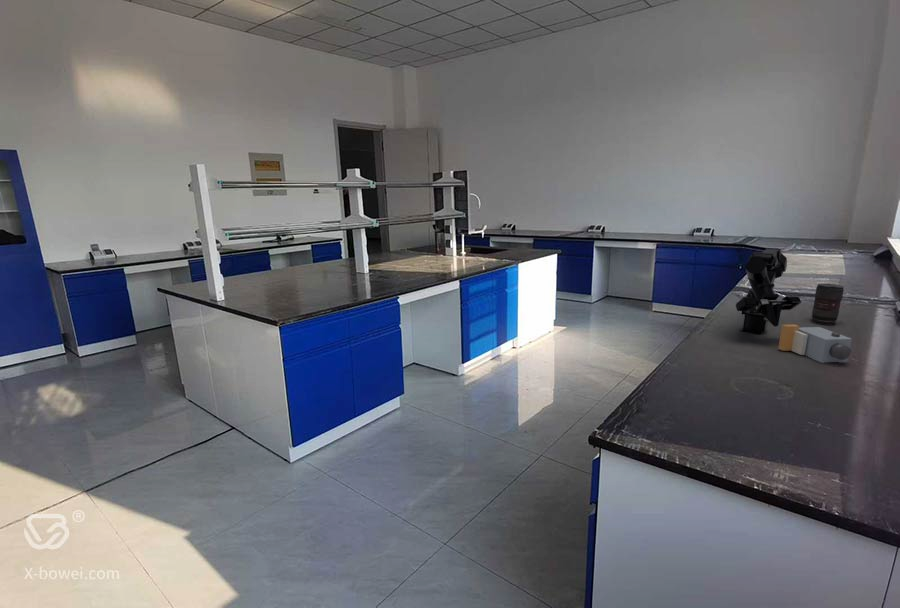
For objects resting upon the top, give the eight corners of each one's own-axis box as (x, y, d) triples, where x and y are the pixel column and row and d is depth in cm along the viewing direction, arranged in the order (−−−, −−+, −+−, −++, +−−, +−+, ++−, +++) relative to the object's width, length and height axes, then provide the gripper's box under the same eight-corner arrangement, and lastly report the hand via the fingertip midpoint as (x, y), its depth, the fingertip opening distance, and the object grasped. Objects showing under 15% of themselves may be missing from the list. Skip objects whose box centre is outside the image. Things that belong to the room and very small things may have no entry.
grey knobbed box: (791, 349, 149) (795, 325, 147) (815, 348, 149) (820, 324, 147) (827, 365, 135) (832, 339, 133) (854, 365, 135) (859, 338, 133)
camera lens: (841, 326, 172) (849, 287, 168) (817, 325, 173) (824, 287, 170) (829, 320, 179) (836, 283, 176) (806, 319, 181) (812, 282, 177)
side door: (778, 348, 149) (782, 324, 147) (790, 348, 149) (794, 324, 147) (791, 355, 143) (796, 330, 141) (804, 354, 143) (808, 330, 141)
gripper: (773, 295, 165) (789, 335, 157) (722, 296, 165) (734, 336, 158) (793, 280, 155) (811, 321, 148) (738, 281, 155) (753, 322, 148)
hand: (776, 326), depth 150 cm, fingers closed
